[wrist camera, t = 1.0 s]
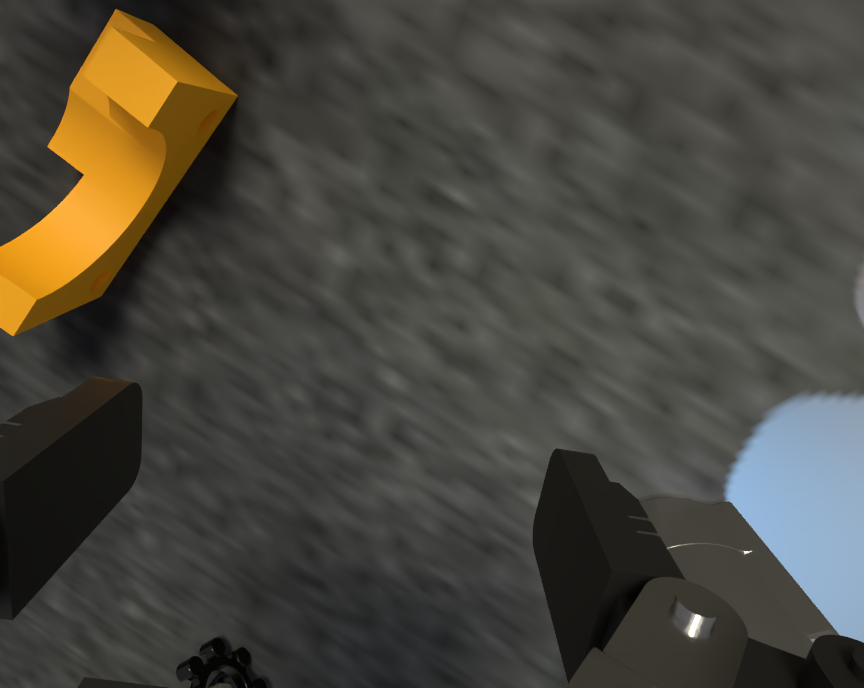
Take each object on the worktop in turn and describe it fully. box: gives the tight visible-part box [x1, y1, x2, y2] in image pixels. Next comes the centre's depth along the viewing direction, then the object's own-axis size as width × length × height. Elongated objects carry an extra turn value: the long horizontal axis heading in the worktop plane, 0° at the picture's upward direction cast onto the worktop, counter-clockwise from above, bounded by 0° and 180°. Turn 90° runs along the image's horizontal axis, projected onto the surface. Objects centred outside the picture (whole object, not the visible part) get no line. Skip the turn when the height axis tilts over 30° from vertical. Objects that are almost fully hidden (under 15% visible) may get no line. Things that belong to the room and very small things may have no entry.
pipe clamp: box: [0, 9, 238, 336], centre depth 24 cm, size 12×4×6 cm, turn 140°
